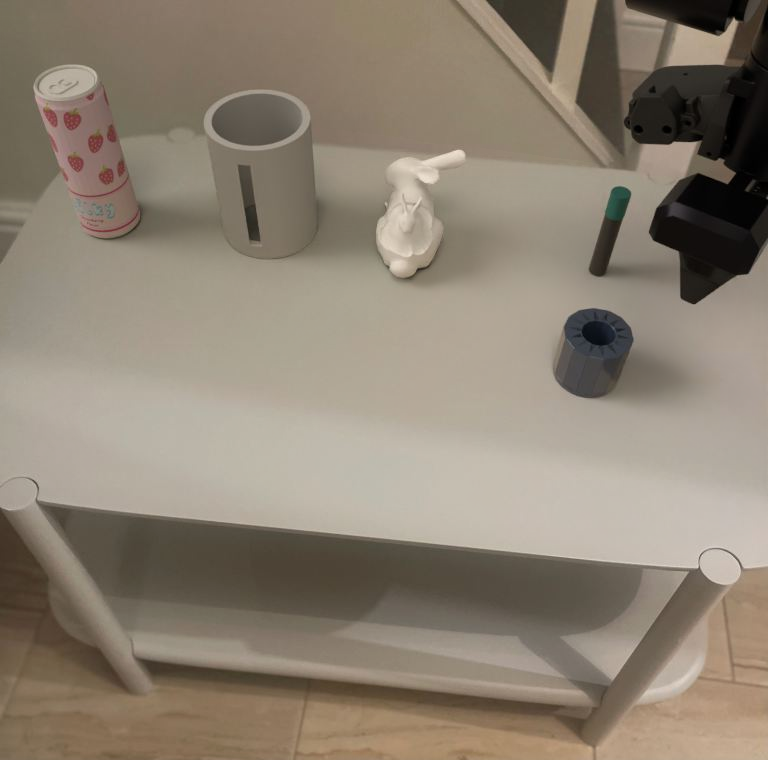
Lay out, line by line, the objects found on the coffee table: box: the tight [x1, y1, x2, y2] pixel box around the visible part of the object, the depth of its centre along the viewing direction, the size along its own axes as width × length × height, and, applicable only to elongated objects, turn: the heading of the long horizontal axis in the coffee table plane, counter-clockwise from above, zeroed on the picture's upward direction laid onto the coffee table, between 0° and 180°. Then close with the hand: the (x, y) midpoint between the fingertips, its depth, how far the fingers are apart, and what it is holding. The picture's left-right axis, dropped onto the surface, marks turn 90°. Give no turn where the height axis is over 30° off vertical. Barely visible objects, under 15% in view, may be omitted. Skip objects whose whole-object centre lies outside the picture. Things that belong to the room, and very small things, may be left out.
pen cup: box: [552, 307, 635, 399], centre depth 65 cm, size 5×6×5 cm
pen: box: [588, 186, 632, 277], centre depth 71 cm, size 2×2×9 cm
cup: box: [203, 89, 319, 260], centre depth 73 cm, size 9×9×12 cm
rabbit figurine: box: [375, 149, 467, 279], centre depth 72 cm, size 12×8×10 cm, turn 173°
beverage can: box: [33, 63, 141, 239], centre depth 72 cm, size 6×6×15 cm
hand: (713, 263), depth 57 cm, fingers open, 9 cm apart
